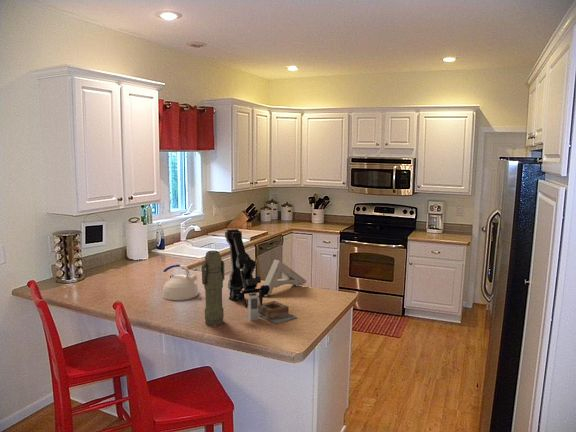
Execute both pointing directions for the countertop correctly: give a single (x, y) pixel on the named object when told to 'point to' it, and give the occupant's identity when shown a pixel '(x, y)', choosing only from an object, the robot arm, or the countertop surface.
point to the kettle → (180, 286)
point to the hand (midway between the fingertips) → (254, 307)
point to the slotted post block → (275, 312)
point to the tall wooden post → (253, 306)
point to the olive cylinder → (213, 288)
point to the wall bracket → (274, 282)
